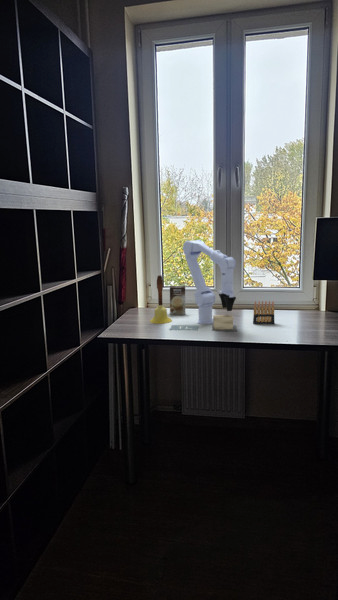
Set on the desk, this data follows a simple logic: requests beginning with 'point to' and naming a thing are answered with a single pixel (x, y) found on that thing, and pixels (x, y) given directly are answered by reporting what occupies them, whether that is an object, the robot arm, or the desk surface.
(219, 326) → the maple block
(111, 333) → the desk surface
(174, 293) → the coffee box
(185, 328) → the blue-grey flat slab
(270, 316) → the ammunition clip
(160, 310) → the handbell
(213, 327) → the rubber mat
